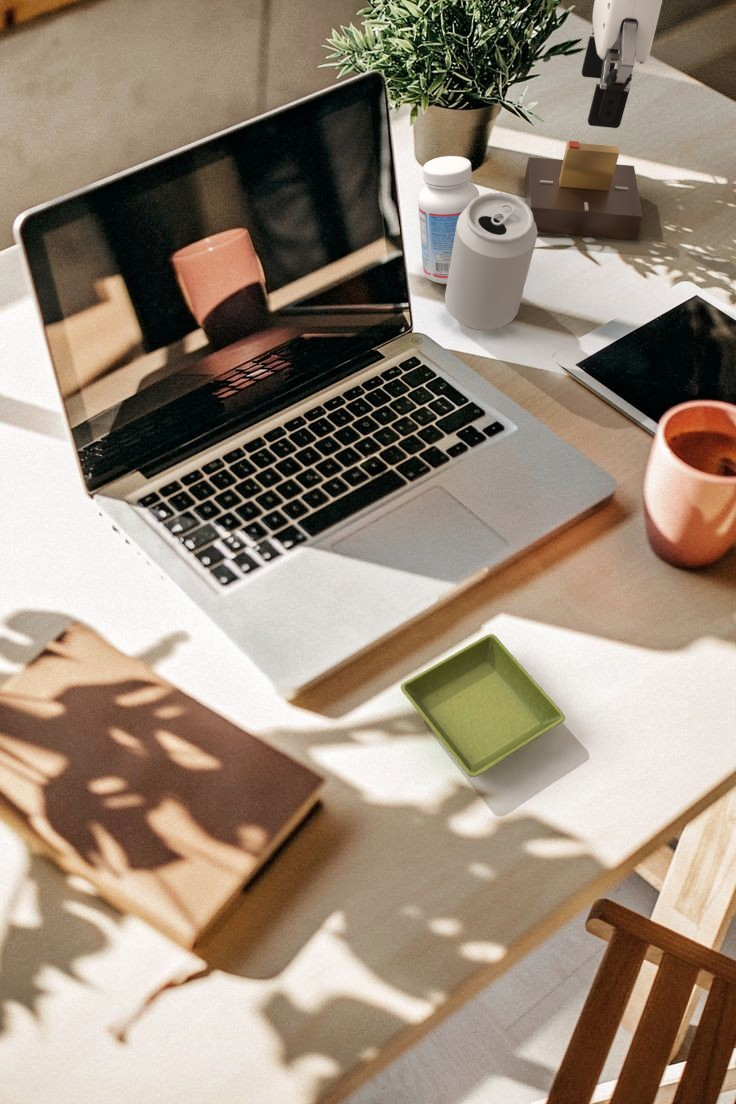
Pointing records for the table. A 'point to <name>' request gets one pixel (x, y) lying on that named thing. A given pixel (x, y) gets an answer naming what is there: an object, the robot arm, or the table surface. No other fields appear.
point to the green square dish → (482, 704)
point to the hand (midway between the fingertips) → (599, 100)
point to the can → (490, 261)
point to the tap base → (582, 203)
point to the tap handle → (588, 166)
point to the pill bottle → (443, 211)
